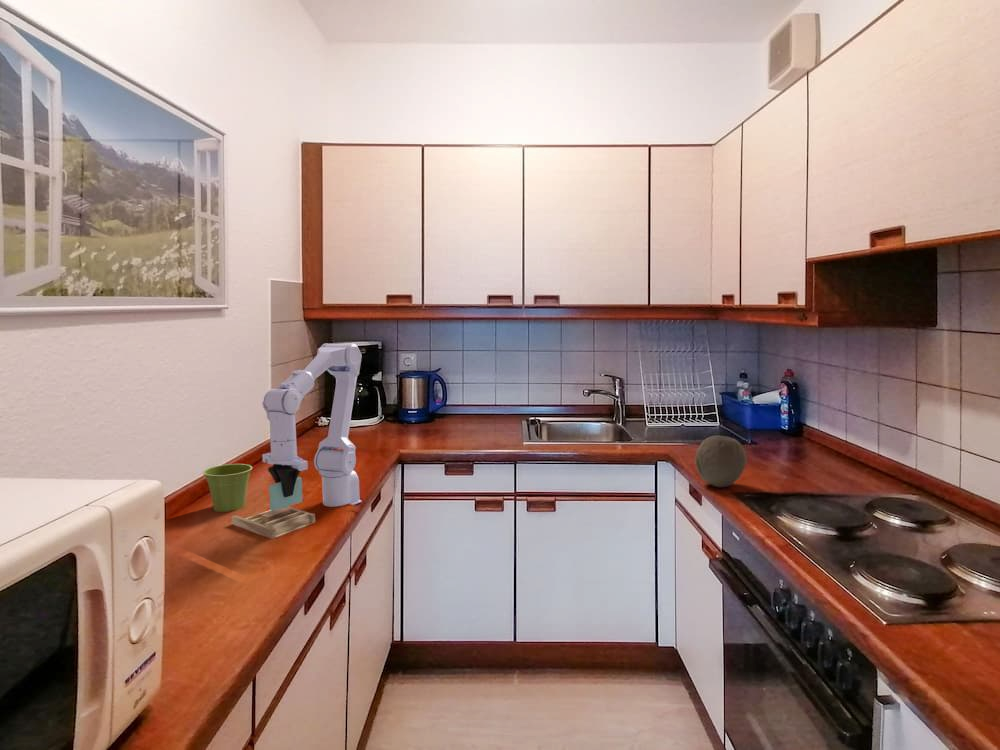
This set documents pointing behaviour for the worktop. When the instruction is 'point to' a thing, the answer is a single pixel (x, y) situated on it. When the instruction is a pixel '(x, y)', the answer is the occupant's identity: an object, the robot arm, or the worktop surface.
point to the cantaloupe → (720, 460)
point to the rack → (275, 523)
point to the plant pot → (228, 486)
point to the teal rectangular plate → (278, 498)
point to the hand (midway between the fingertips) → (286, 495)
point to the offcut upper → (276, 514)
